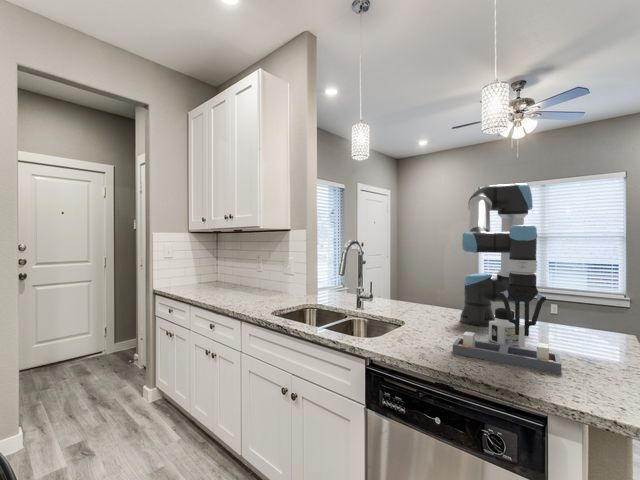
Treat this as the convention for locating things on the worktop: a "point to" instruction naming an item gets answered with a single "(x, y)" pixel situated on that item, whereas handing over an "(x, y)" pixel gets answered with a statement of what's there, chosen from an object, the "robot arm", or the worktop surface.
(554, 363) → the tray
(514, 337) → the container
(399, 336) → the worktop surface
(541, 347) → the tab
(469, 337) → the tab
